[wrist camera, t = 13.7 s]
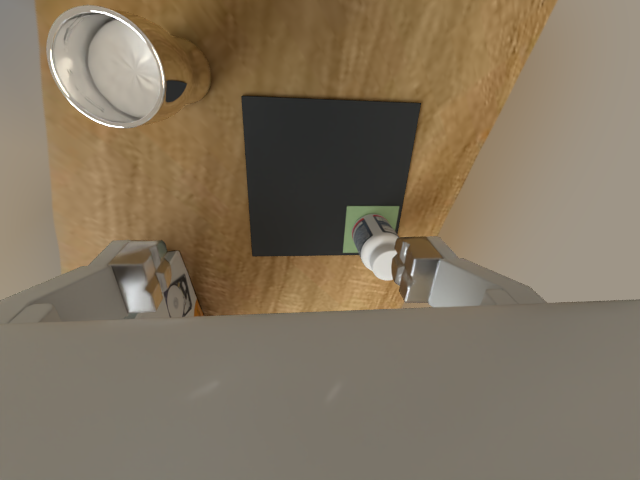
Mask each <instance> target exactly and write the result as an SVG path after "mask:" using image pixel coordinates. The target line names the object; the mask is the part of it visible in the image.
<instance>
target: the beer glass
mask: <svg viewBox="0 0 640 480" xmlns="http://www.w3.org/2000/svg"><path fill="white" fill-rule="evenodd" d="M46 50H47V60H48V64H49V68H50V71H51V74H52V76H53V78H54V80H55V82H56V84H57V86H58V88H59V89H60V91H61V92H62V94H63V95H64V96H65V97H66V99H67V100H68V101H69V102H70V103H71V104H72V105H73V106H74V107H75V108H76V109H77V110H78V111H80V112H81V113H82V114H84V115H85V116H87V117H88V118H90V119H92V120H94V121H96V122H98V123H100V124H103V125H106V126H109V127H114V128H133V127H137V126H142V125H148V124H153V123H156V122H160V121H163V120H165V119H167V118H169V117H171V116H173V115H175V114H176V113H178V112H179V111H180V110H181V109H182V108H183V107H184V106H185V105H186V104H192V103H196V102H198V101H200V100H201V99H202V98H203V97H204V96H205V95H206V94H207V92H208V90H209V87H210V83H211V71H210V67H209V64H208V61H207V59H206V57H205V56H204V54H203V53H202V51H201V50H200V49H199V48H198V47H197V46H196V45H194V44H193V43H192V42H190V41H188V40H186V39H184V38H180V37H173V36H172V35H171V34H169V33H168V32H167V31H166V30H164V29H163V28H162V27H160V26H159V25H157V24H155V23H153V22H151V21H149V20H147V19H145V18H143V17H141V16H138V15H135V14H131V13H128V12H124V11H119V10H114V9H108V8H105V7H101V6H94V5H83V6H78V7H74V8H71V9H69V10H67V11H65V12H64V13H62V14H61V15H60V16H59V17H58V18H57V19H56V20H55V22H54V23H53V25H52V27H51V29H50V31H49V34H48V38H47V48H46Z"/></svg>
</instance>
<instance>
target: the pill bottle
mask: <svg viewBox="0 0 640 480" xmlns="http://www.w3.org/2000/svg"><path fill="white" fill-rule="evenodd" d="M397 238H399V236H398V235H397V234H396V232H395V231H394V229H393V228H392V227H391V225H390V224H389V222H388V221H387V220H386V219H385V218H384V217H383V216H381V215H378V214H368V215H365V216H363V217H361V218H360V219H358V220H357V221H356V223H355V224H354V226H353V228H352V239H353V241H354V243H355V246H356V248H357V250H358V253H359V255H360V257H361V260H362V262H363V264H364V265H365V266H366V267H367V268H368V269H370V270H372V271H373V273H374V274H375V276H377V277H378V278H379V279H382V280H393V277H392V273H391V264H392V258H393V257H394V256H395V255H396V254H397V252H396V250H395V249H394V247H395V242H396V240H397Z"/></svg>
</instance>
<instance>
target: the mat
mask: <svg viewBox="0 0 640 480" xmlns="http://www.w3.org/2000/svg"><path fill="white" fill-rule="evenodd" d="M420 106H421V103H406V102H381V101H356V100H332V99H307V98H282V97H258V96H242V111H243V125H244V140H245V155H246V169H247V184H248V198H249V213H250V228H251V242H252V256H316V255H359V253H358V250H357V248H356V246H355V243H354V241H353V239H352V228H353V226H354V224H355V223H356V221H357V220H358V219H360V218H361V217H363V216H365V215H368V214H378V215H381V216H383V217H384V218H385V219H386V220H387V221H388V222H389V224H390V225H391V227H392V228H393V229H394V231H395V232H396V234H397V233H398V228H399V222H400V217H401V211H402V206H403V200H404V195H405V189H406V183H407V178H408V172H409V167H410V161H411V156H412V150H413V145H414V139H415V133H416V128H417V122H418V117H419V111H420Z"/></svg>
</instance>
